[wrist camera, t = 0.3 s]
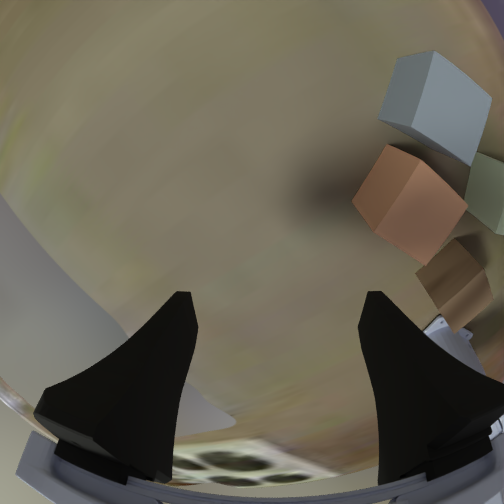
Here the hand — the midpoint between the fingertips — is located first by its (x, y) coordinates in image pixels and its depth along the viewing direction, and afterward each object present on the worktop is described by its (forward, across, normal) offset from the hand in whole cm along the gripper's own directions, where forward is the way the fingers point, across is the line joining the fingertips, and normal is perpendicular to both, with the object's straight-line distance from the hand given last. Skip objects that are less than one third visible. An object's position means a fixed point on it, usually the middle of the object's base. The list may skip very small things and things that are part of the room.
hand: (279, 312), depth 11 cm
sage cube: (+10, -19, -4) cm, 22 cm away
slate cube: (+10, -10, -9) cm, 17 cm away
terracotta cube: (+10, -9, -2) cm, 13 cm away
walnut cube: (+10, -16, +5) cm, 20 cm away
